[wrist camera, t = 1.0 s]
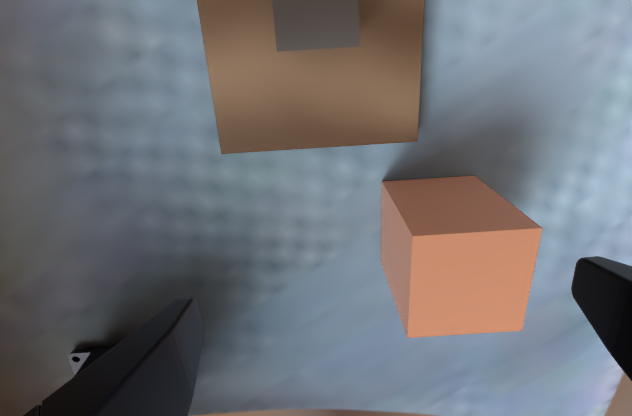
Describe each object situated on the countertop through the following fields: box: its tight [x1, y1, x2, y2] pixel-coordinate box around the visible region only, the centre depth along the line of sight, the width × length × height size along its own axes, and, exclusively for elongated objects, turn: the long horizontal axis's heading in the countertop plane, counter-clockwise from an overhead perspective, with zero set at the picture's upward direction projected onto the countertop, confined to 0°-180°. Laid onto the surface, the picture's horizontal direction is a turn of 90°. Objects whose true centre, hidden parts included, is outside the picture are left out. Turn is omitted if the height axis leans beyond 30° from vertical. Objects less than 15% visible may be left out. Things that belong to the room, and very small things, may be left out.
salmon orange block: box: [381, 176, 542, 338], centre depth 19 cm, size 5×5×7 cm
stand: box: [197, 0, 424, 154], centre depth 15 cm, size 12×10×7 cm
